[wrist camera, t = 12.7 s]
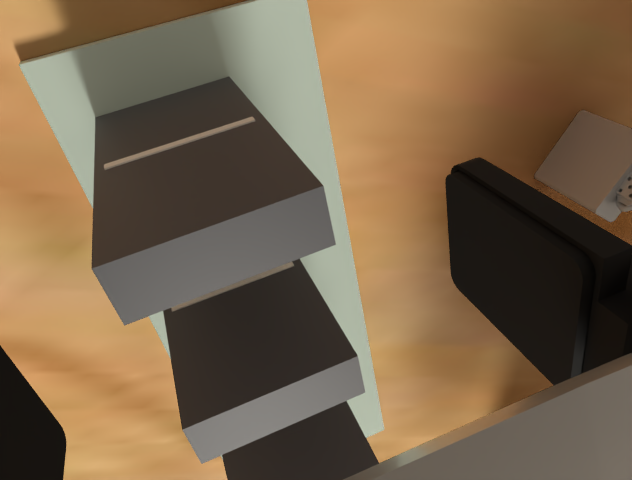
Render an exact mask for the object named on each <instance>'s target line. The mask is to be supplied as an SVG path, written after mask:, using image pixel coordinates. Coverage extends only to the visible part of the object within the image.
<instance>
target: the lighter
mask: <svg viewBox="0 0 632 480" xmlns="http://www.w3.org/2000/svg"><path fill="white" fill-rule="evenodd" d="M534 178H535V179H537V180H538V181H540V182H542V183H543V184H545V185H547V186H549V187H550V188H552V189H554V190H555V191H557V192H559V193H561V194H562V195H564V196H566V197H568V198H569V199H571V200H573V201H574V202H576V203H578V204H580V205H581V206H583V207H585V208H586V209H588V210H590V211H592V212H593V213H595V214H597V215H598V216H600V217H602V218H604V219H605V220H607V221H609V222H613V221H615V219H616V218H617V217H618V216H619V214H620V213H621V212H622V211H623V212H628V211H630V210H632V128H629V127H627V126H624V125H622V124H619V123H616V122H614V121H611V120H608V119H606V118H603V117H601V116H598V115H595V114H593V113H590V112H587V111H585V110H581V111H579V112H578V114H577V115H576V117H575V118H574V119H573V121H572V122H571V124H570V125H569V126H568V128H567V129H566V131H565V132H564V133H563V135H562V136H561V138H560V139H559V140H558V142H557V143H556V145H555V146H554V148H553V149H552V150H551V152H550V153H549V155H548V156H547V157H546V159H545V160H544V162H543V163H542V164H541V166H540V167H539V169H538V170H537V172H536V173H535V175H534Z"/></svg>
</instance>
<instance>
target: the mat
mask: <svg viewBox="0 0 632 480" xmlns="http://www.w3.org/2000/svg"><path fill="white" fill-rule="evenodd" d="M19 66H20V68H21V70H22V72H23V74H24V76H25V78H26V80H27V82H28V84H29V86H30V88H31V90H32V92H33V93H34V95H35V97H36V99H37V101H38V103H39V105H40V107H41V109H42V111H43V113H44V115H45V117H46V119H47V121H48V122H49V124H50V126H51V128H52V130H53V132H54V134H55V136H56V138H57V140H58V142H59V144H60V146H61V148H62V150H63V151H64V153H65V155H66V157H67V159H68V161H69V163H70V165H71V167H72V169H73V171H74V173H75V175H76V177H77V179H78V181H79V182H80V184H81V186H82V188H83V190H84V192H85V194H86V196H87V198H88V200H89V202H90V204H91V206H92V208H93V193H94V152H95V117H98V116H101V115H104V114H108V113H111V112H114V111H118V110H121V109H124V108H127V107H131V106H134V105H137V104H140V103H144V102H147V101H150V100H154V99H157V98H160V97H163V96H167V95H170V94H173V93H176V92H180V91H183V90H186V89H190V88H193V87H196V86H199V85H203V84H206V83H209V82H212V81H216V80H219V79H222V78H226V77H230V78H231V79H232V80H233V81H234V82H235V84H236V85H237V86H238V87H239V88H240V89H241V91H242V92H243V93H244V94H245V95H246V96H247V98H248V99H249V100H250V101H251V102H252V103H253V105H254V106H255V107H256V108H257V109H258V110H259V111H260V113H261V114H262V115H263V116H264V117H265V118H266V120H267V121H268V122H269V123H270V124H271V125H272V127H273V128H274V129H275V130H276V131H277V132H278V134H279V135H280V136H281V137H282V138H283V139H284V140H285V142H286V143H287V144H288V145H289V146H290V147H291V149H292V150H293V151H294V152H295V153H296V154H297V156H298V157H299V158H300V159H301V160H302V161H303V163H304V164H305V165H306V166H307V167H308V168H309V170H310V171H311V172H312V173H313V174H314V175H315V176H316V178H317V179H318V180H319V181H320V182H321V183H322V185H323V186H324V190H325V195H326V200H327V205H328V209H329V214H330V219H331V223H332V228H333V233H334V237H335V242H336V245H334V246H331V247H329V248H326V249H323V250H321V251H318V252H315V253H313V254H310V255H308V256H305V257H302V258H300V260H301V262H302V264H303V265H304V267H305V269H306V270H307V272H308V274H309V275H310V277H311V279H312V280H313V282H314V284H315V285H316V287H317V289H318V290H319V292H320V294H321V295H322V297H323V299H324V300H325V302H326V304H327V305H328V307H329V309H330V310H331V312H332V314H333V315H334V317H335V319H336V320H337V322H338V324H339V325H340V327H341V329H342V330H343V332H344V334H345V335H346V337H347V339H348V340H349V342H350V344H351V345H352V347H353V349H354V350H355V352H356V354H357V355H358V359H359V364H360V369H361V374H362V379H363V383H364V388H365V393H363V394H361V395H358V396H356V397H354V398H352V399H349V400H347V403H348V405H349V406H350V408H351V410H352V412H353V414H354V416H355V418H356V420H357V422H358V424H359V426H360V428H361V430H362V431H363V433H364V435H365V437H366V438H367V437H369V436H371V435H374V434H376V433H378V432H380V431H383V430H384V425H383V419H382V414H381V408H380V403H379V397H378V392H377V386H376V381H375V375H374V370H373V364H372V358H371V353H370V347H369V342H368V336H367V331H366V325H365V320H364V314H363V309H362V303H361V298H360V292H359V287H358V281H357V275H356V270H355V264H354V259H353V253H352V248H351V242H350V237H349V231H348V226H347V220H346V215H345V209H344V203H343V198H342V192H341V187H340V181H339V176H338V170H337V165H336V159H335V154H334V148H333V143H332V137H331V132H330V126H329V120H328V115H327V109H326V104H325V98H324V93H323V87H322V82H321V76H320V71H319V65H318V60H317V54H316V48H315V43H314V37H313V32H312V26H311V21H310V15H309V10H308V4H307V0H248V1H244V2H241V3H237V4H233V5H229V6H226V7H222V8H218V9H215V10H211V11H207V12H203V13H200V14H196V15H192V16H189V17H185V18H181V19H177V20H174V21H170V22H166V23H162V24H159V25H155V26H151V27H148V28H144V29H140V30H136V31H133V32H129V33H125V34H122V35H118V36H114V37H110V38H107V39H103V40H99V41H96V42H92V43H88V44H84V45H81V46H77V47H73V48H69V49H66V50H62V51H58V52H55V53H51V54H47V55H43V56H40V57H36V58H32V59H29V60H25V61H21V62H20V64H19ZM149 318H150V320H151V322H152V324H153V326H154V328H155V330H156V331H157V333H158V335H159V337H160V339H161V341H162V343H163V345H164V347H165V349H166V351H167V353H168V355H169V357H170V351H169V345H168V339H167V333H166V326H165V320H164V314H163V311H161V312H158V313H156V314H153V315H150V316H149ZM170 359H171V357H170ZM221 457H222V455H221ZM222 459H223V457H222Z"/></svg>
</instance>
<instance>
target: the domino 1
mask: <svg viewBox="0 0 632 480" xmlns="http://www.w3.org/2000/svg"><path fill="white" fill-rule="evenodd" d="M334 245H336V242H335V237H334V233H333V228H332V223H331V219H330V214H329V209H328V205H327V200H326V195H325V190H324V186H323V185H322V183H321V182H320V181H319V180H318V179H317V178H316V176H315V175H314V174H313V173H312V172H311V171H310V170H309V168H308V167H307V166H306V165H305V164H304V163H303V161H302V160H301V159H300V158H299V157H298V156H297V154H296V153H295V152H294V151H293V150H292V149H291V147H290V146H289V145H288V144H287V143H286V142H285V140H284V139H283V138H282V137H281V136H280V135H279V134H278V132H277V131H276V130H275V129H274V128H273V127H272V125H271V124H270V123H269V122H268V121H267V120H266V118H265V117H264V116H263V115H262V114H261V113H260V111H259V110H258V109H257V108H256V107H255V106H254V105H253V103H252V102H251V101H250V100H249V99H248V98H247V96H246V95H245V94H244V93H243V92H242V91H241V89H240V88H239V87H238V86H237V85H236V84H235V82H234V81H233V80H232V79H231V78H230V77H226V78H222V79H219V80H216V81H212V82H209V83H206V84H203V85H199V86H196V87H193V88H190V89H186V90H183V91H180V92H176V93H173V94H170V95H167V96H163V97H160V98H157V99H154V100H150V101H147V102H144V103H140V104H137V105H134V106H131V107H127V108H124V109H121V110H118V111H114V112H111V113H108V114H104V115H101V116H98V117H95V152H94V193H93V234H92V270H93V272H94V274H95V275H96V277H97V279H98V281H99V282H100V284H101V286H102V287H103V289H104V291H105V293H106V294H107V296H108V298H109V300H110V301H111V303H112V305H113V306H114V308H115V310H116V312H117V313H118V315H119V317H120V319H121V320H122V322H123V324H124V325H127V324H130V323H132V322H135V321H137V320H140V319H143V318H145V317H148V316H150V315H153V314H156V313H158V312H161V311H164V310H166V309H169V308H171V307H174V306H177V305H179V304H182V303H185V302H187V301H190V300H192V299H195V298H198V297H200V296H203V295H205V294H208V293H211V292H213V291H216V290H219V289H221V288H224V287H226V286H229V285H232V284H234V283H237V282H240V281H242V280H245V279H247V278H250V277H253V276H255V275H258V274H260V273H263V272H266V271H268V270H271V269H274V268H276V267H279V266H281V265H284V264H287V263H289V262H292V261H295V260H297V259H300V258H302V257H305V256H308V255H310V254H313V253H315V252H318V251H321V250H323V249H326V248H329V247H331V246H334Z"/></svg>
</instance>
